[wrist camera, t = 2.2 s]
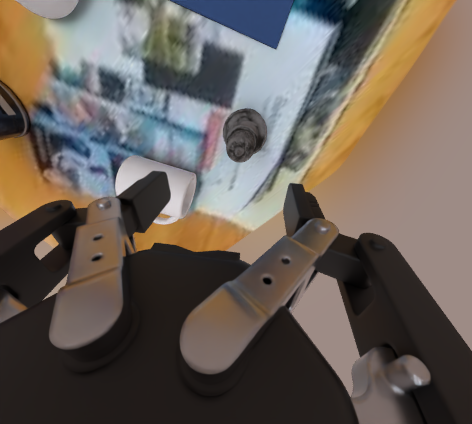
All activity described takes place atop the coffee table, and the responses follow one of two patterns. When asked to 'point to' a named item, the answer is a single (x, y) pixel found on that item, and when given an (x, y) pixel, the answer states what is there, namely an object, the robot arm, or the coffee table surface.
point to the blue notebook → (246, 16)
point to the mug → (178, 179)
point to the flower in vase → (50, 7)
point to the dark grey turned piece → (244, 134)
